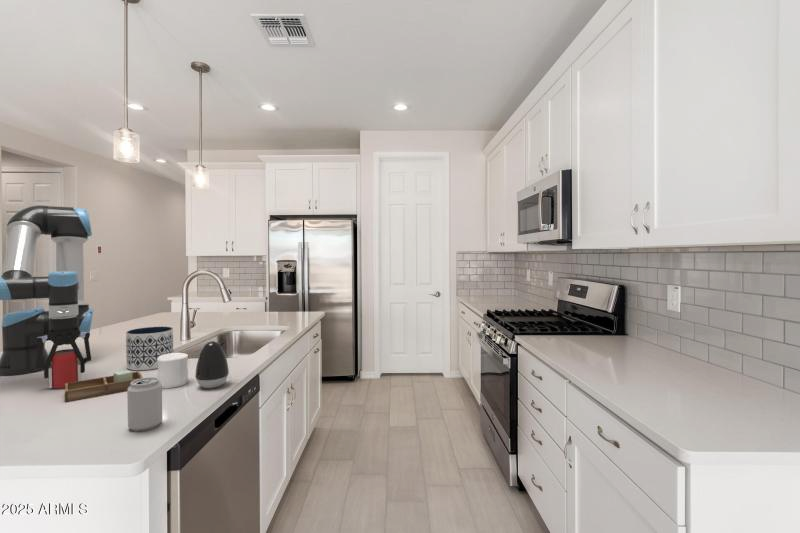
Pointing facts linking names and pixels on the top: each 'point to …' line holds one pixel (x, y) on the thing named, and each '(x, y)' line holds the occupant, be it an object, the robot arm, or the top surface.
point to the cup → (172, 370)
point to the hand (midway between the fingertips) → (65, 384)
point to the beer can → (64, 368)
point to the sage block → (123, 376)
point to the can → (144, 403)
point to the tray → (96, 387)
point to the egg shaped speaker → (212, 366)
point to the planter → (147, 347)
